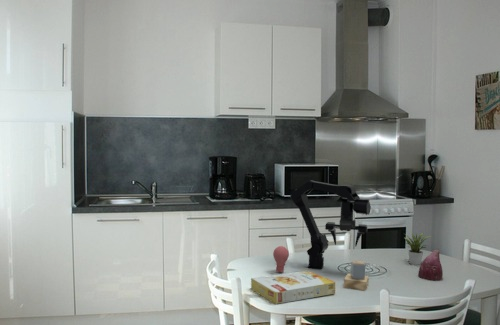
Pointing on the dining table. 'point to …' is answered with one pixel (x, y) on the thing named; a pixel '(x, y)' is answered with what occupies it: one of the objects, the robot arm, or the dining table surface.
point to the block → (356, 282)
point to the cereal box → (292, 286)
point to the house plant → (415, 249)
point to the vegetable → (431, 267)
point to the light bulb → (280, 257)
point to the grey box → (358, 270)
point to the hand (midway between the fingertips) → (345, 245)
